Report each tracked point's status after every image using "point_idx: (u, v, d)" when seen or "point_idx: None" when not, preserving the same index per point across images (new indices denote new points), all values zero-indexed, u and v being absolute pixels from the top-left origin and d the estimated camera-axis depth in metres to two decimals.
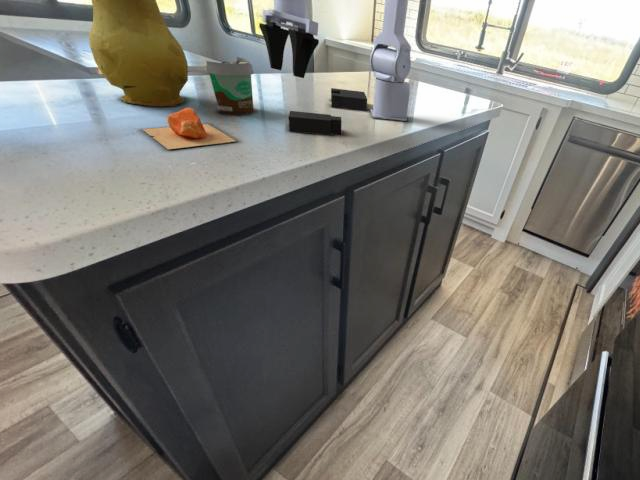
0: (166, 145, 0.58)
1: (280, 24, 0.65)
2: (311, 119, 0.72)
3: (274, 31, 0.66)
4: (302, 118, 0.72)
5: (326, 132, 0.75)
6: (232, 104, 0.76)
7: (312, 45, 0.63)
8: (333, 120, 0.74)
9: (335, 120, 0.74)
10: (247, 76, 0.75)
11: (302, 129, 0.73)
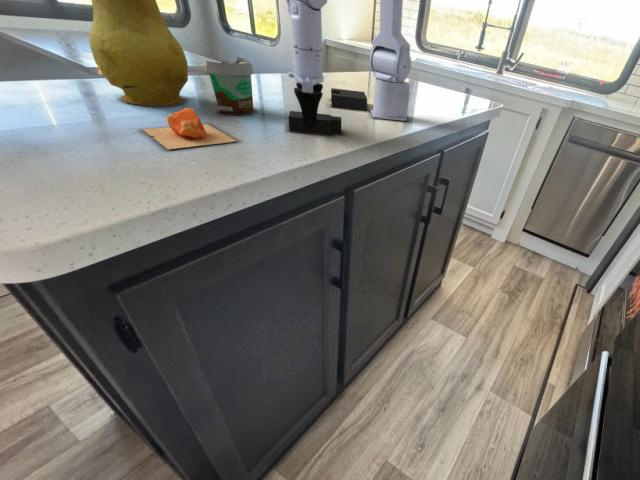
0: (166, 145, 0.58)
1: None
2: None
3: None
4: (302, 118, 0.72)
5: (326, 132, 0.75)
6: (232, 104, 0.76)
7: (315, 99, 0.68)
8: (333, 120, 0.74)
9: (335, 120, 0.74)
10: (247, 76, 0.75)
11: (302, 130, 0.73)
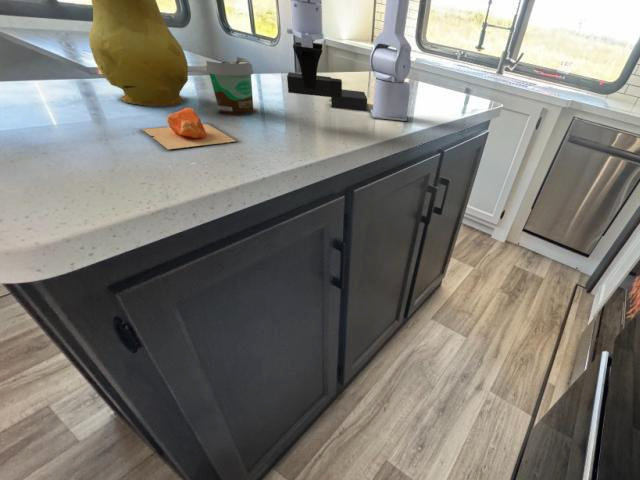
0: (166, 145, 0.58)
1: None
2: None
3: None
4: (301, 78, 0.70)
5: (326, 94, 0.72)
6: (232, 104, 0.76)
7: (314, 56, 0.66)
8: (333, 81, 0.72)
9: (335, 81, 0.72)
10: (247, 76, 0.75)
11: (301, 91, 0.71)
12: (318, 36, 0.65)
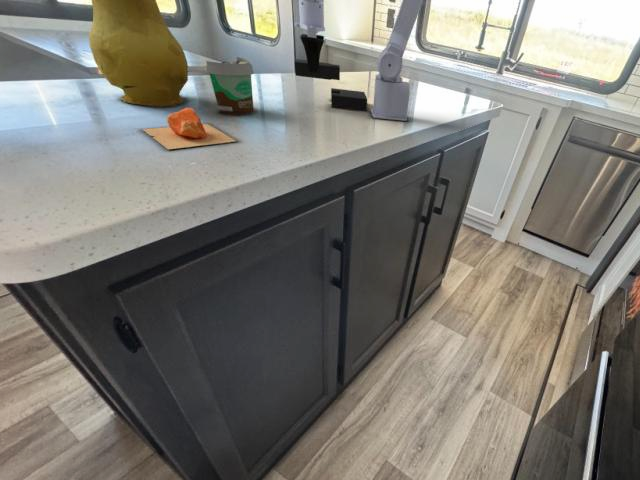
0: (166, 145, 0.58)
1: None
2: None
3: None
4: (306, 63, 0.85)
5: (327, 77, 0.87)
6: (232, 104, 0.76)
7: (317, 45, 0.81)
8: (332, 66, 0.87)
9: (334, 66, 0.87)
10: (247, 76, 0.75)
11: (306, 74, 0.86)
12: (321, 28, 0.80)
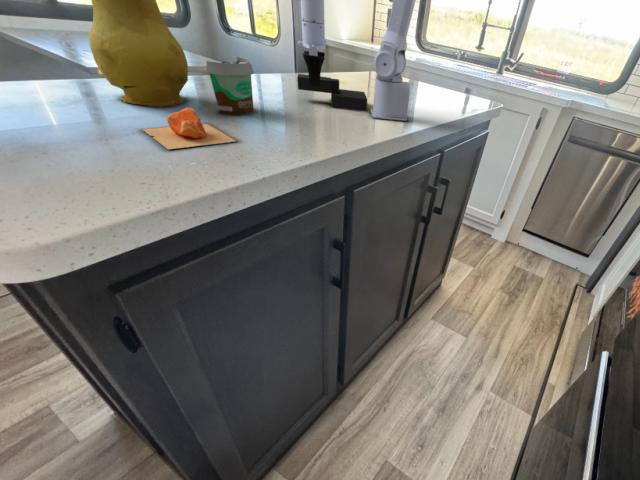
0: (166, 145, 0.58)
1: None
2: None
3: None
4: (308, 78, 0.91)
5: (327, 90, 0.94)
6: (232, 104, 0.76)
7: (319, 62, 0.88)
8: (332, 81, 0.93)
9: (334, 81, 0.94)
10: (247, 76, 0.75)
11: (308, 88, 0.93)
12: (321, 47, 0.87)
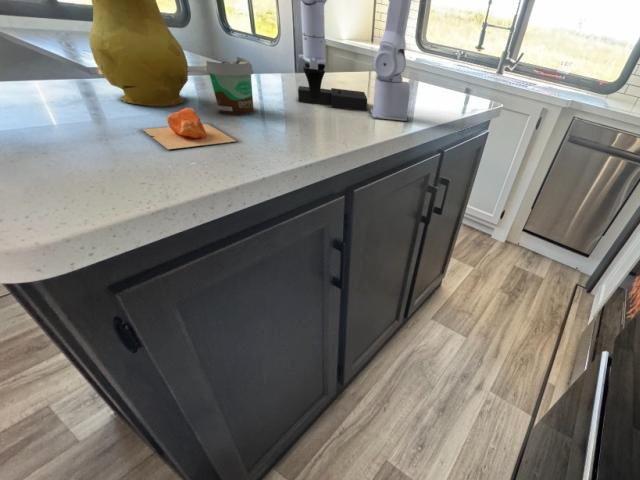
0: (166, 145, 0.58)
1: None
2: None
3: None
4: (308, 91, 0.93)
5: (327, 102, 0.96)
6: (232, 104, 0.76)
7: (319, 76, 0.89)
8: None
9: None
10: (247, 76, 0.75)
11: (308, 100, 0.95)
12: (322, 60, 0.89)
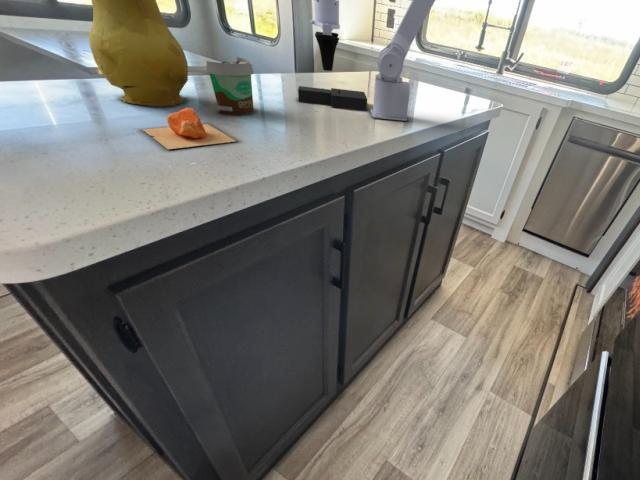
0: (166, 145, 0.58)
1: None
2: (315, 92, 0.94)
3: None
4: (308, 91, 0.93)
5: (327, 102, 0.96)
6: (232, 104, 0.76)
7: (332, 43, 0.79)
8: None
9: None
10: (247, 76, 0.75)
11: (308, 100, 0.95)
12: (336, 26, 0.79)
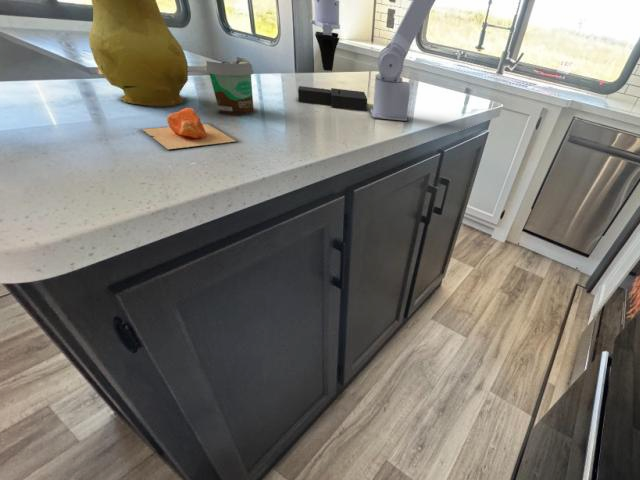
0: (166, 145, 0.58)
1: None
2: (315, 92, 0.94)
3: None
4: (308, 91, 0.93)
5: (327, 102, 0.96)
6: (232, 104, 0.76)
7: (333, 43, 0.79)
8: None
9: None
10: (247, 76, 0.75)
11: (308, 100, 0.95)
12: (336, 26, 0.79)
